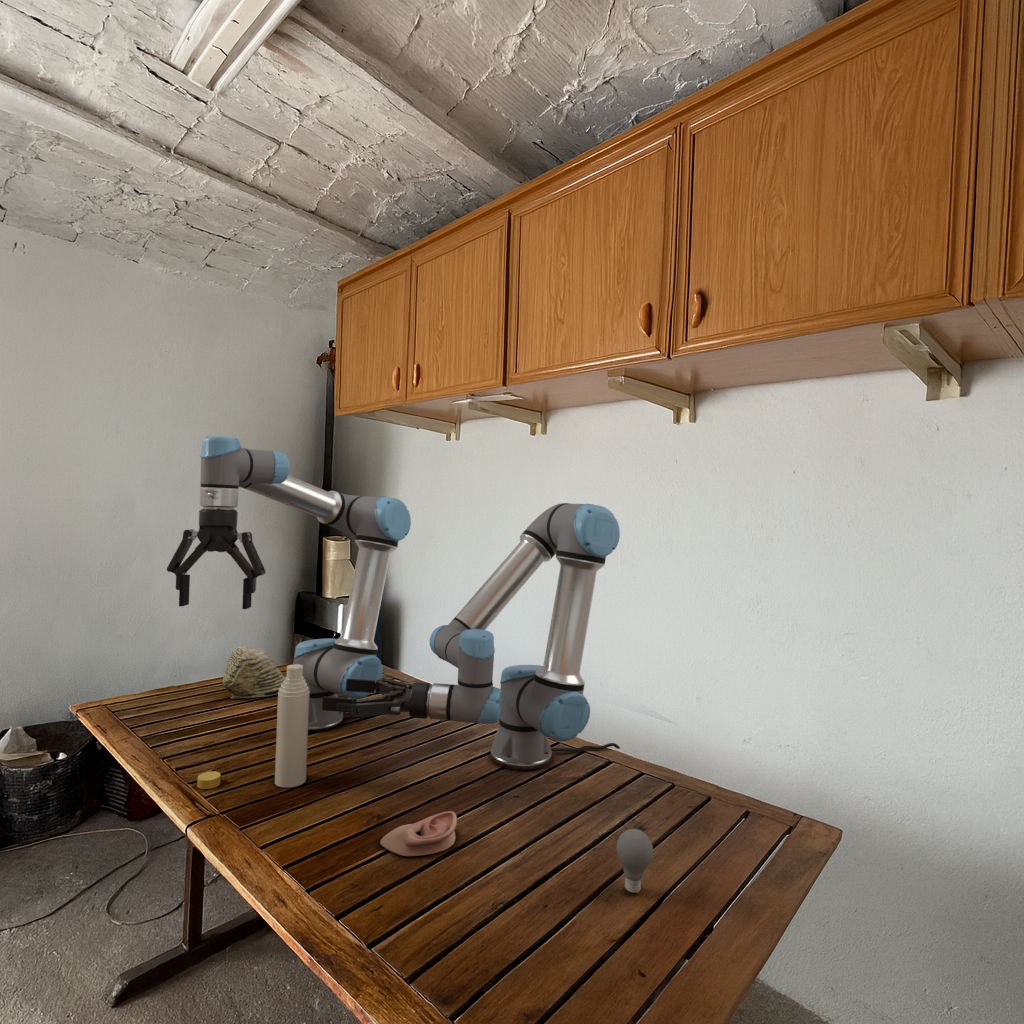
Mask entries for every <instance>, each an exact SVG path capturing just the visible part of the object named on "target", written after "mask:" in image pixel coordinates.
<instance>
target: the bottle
mask: <svg viewBox="0 0 1024 1024" xmlns="http://www.w3.org/2000/svg"><path fill="white" fill-rule="evenodd" d="M302 672H303V666H302V665H299V664H295V663H293V664H289V665H287V666H286V676H284V677H285V680H284V681H283V684H281V687H280V688H279V692H278V694H277V705H276V707H277V708H276V732H275V758H274V784H275V786H276V787H279V788H285V789H287V788H295V787H299V786H302V785H303V784H304V783H306V781H307V772H308V771H307V770H308V743H309V732H308V721H309V695H310V691H309V687H308V686H307V683H306V681H305V680H304V677H303V676H302Z"/></svg>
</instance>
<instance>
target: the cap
mask: <svg viewBox="0 0 1024 1024" xmlns="http://www.w3.org/2000/svg"><path fill="white" fill-rule="evenodd" d="M221 776H222V775H221V772H219V771H215V770H214V771H205V772H202V773H200V774H199V775H197V779H196V780H197V781H196V787H197V788H198V789H201V790H210V789H211V790H212V789H214V788H217V787H219V786H220V785H221V779H222V778H221Z"/></svg>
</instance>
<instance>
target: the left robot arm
mask: <svg viewBox="0 0 1024 1024" xmlns="http://www.w3.org/2000/svg"><path fill="white" fill-rule="evenodd" d="M201 443H202V444H201V451H200V457H199V458H200V483H199V507H202V508H200V509H199V511H198V527H199V528H198V530H195V529H194V528H193V529H192V528H191V529H184V530H183V533H182V539H181V541H180V543H179V545H178V546H177V549H176V550H175V552H174V554H173V556H172V557H171V559H170V562H169V563H168V566H167V567H166V571H167V572H168V573H172V574H174V576H175V590H176V591H179V592H178V594H179V596H178V607H185V606H188V605H190V586H191V585H190V584H191V574H188V571H190V569H191V568H192V567H193V566H194V565H195V564H196V563H197V562H198V561H199V559H200V558H201V557H203V555H204V554H205V553H206V552H209V553H213V552H217V553H226V554H228V555H229V556H230V557H231V558H232V559H233V561H234V562H235V563H236V565H237V566H238V567H239V569H240V570H241V571H242V572H243V574H244V575H245V576H246V577H245V578H243V581H242V604H241V605H242V608H241V609H242V610H247V609H251V608H252V596H253V595H252V594H254V593H256V591H257V579H258V577H261V576H264V575H266V573H267V572H266V568H265V566H264V564H263V562H262V560H261V558H260V556H259V553H258V551H257V549H256V546H255V544H254V542H253V533H252V532H251V531H244V532H238V518H239V517H238V515H239V514H238V513H239V512H238V510H237V509H236V508H238V507H239V488H242V489H244V490H246V491H250V492H252V493H254V494H256V495H260V496H262V497H265V498H267V499H269V500H272V501H276V502H278V503H280V504H283V505H285V506H287V507H291V508H293V509H296V510H297V511H301V512H303V513H305V514H308V515H310V516H313V517H316V519H317V520H318V522H319V523H321V524H323V525H326V526H329V527H332V528H333V529H337V530H338V531H340V532H343V533H345V534H347V535H351V536H354V543H355V544H356V545H357V547H358V552H357V556H356V562H355V567H354V572H353V577H352V580H351V582H352V583H351V586H350V592H349V597H348V601H347V606H346V612H345V616H344V622H343V626H342V630H341V635H340V636H339V637H338V638H331V637H329V638H317V639H316V638H315V639H308V640H304V641H301V642H299V643H298V644H297V645H296V646H295V650H294V651H295V652H294V656H293V658H294V664H299V665H302V666H303V672H302V676H303V677H304V680H305V681H306V683H307V686H308V687H309V691H310V695H309V721H308V733H316V732H325V731H329V730H332V729H335V728H337V727H339V726H340V725H342V723H343V722H344V716H349V717H352V713H350V712H337V711H325V710H322V705H323V697H324V696H326V697H339V695H340V696H342V697H343V698H351V699H352V698H353V697H354V698H356V700H361V699H365V698H367V697H368V696H369V695H371V694H372V693H365V692H352V691H346V679H361V680H374V681H375V682H376V680H381V678H383V673H384V672H383V671H384V670H383V669H384V668H383V667H384V666H383V664H382V661H381V660H380V659H379V657H378V656H377V655H378V650H379V649H378V645H377V644H376V643H375V637H376V631H377V625H378V619H379V614H380V610H381V604H382V600H383V595H384V590H385V589H384V588H385V584H386V579H387V573H388V569H389V564H390V559H391V558H390V557H391V554H392V553H393V552H395V551H396V550H397V549H398V547H399V542H400V541H402V540H404V539H405V538H406V536H408V534H409V533H410V530H411V525H412V517H411V513H410V510H408V507H407V505H406V504H405V503H404V501H402V500H401V499H399V498H397V497H392V496H391V497H390V496H375V495H374V496H371V495H368V496H367V495H353V494H345V493H341V492H339V491H336V490H329V491H328V490H325V489H322V488H320V487H318V486H316V485H313V484H311V483H310V482H309V483H308V482H306V481H304V480H303V479H300V478H298V477H295V476H293V475H291V474H290V471H291V469H290V466H291V464H290V460H289V458H288V456H287V455H286V454H285V453H284V452H280V451H275V450H265V449H255V448H244V447H242V446H241V441H240V439H239V438H238V437H232V436H223V435H207V436H205V437H203V439H202V441H201ZM196 539H198V541H199V543H198V545H196V547H195V548H194V550H193V551H192V552H191V553H190V554H189V555H188V556H187V554H188V552H189V550H190V548H191V546H192V544H193V542H194V541H195V540H196ZM238 540H239V542H240V543H241V544H242V546H243V549H244V551H245V553H246V557H247V558H248V560H249V561H248V560H247V558H246V557H245V556H244V555H243V553H242V551H240V548H239V547H238V546H237V544H236V542H237V541H238ZM186 556H187V558H186V559H185V557H186ZM184 559H185V560H184ZM401 711H409V710H408V709H402V710H401Z"/></svg>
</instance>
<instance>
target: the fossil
mask: <svg viewBox="0 0 1024 1024" xmlns="http://www.w3.org/2000/svg"><path fill="white" fill-rule="evenodd" d="M222 676H223V677H222V685H223V687H224V688H225V690H226V691H228V693H229V698H230V699H250V698H264V697H271V696H275V695H278V692H279V688H280V687H281V684H283V681H284V680H285V677H286V676H284V674H283V673H282V672H281V669H279V668H278V667H277V665H276V663H275V662H274V660H273V659H272V658H271V657H270V656H269V655H268V654H267V653H266V652H265V650H264V649H263V648H260V647H258V648H251V647H247V646H246V647H245V646H238V647H237V648H236V649H235V650H233V651H232V653H231V656H230V657H229V659H228V660H227V663H226V666H225V668H224V671H223V675H222Z"/></svg>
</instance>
